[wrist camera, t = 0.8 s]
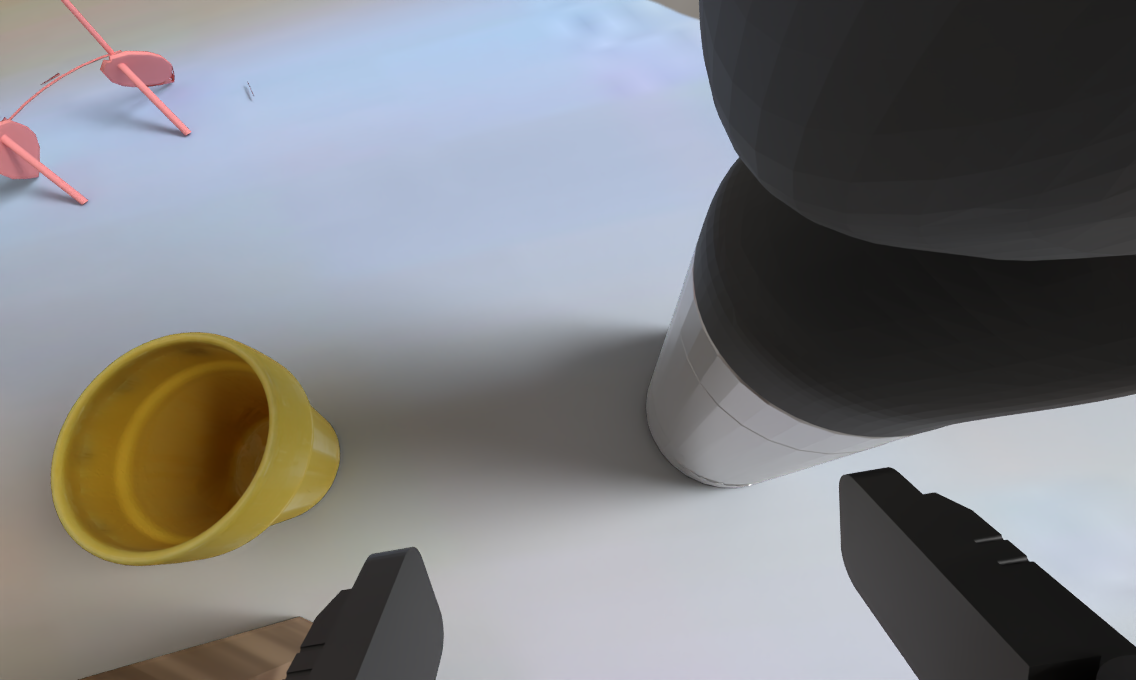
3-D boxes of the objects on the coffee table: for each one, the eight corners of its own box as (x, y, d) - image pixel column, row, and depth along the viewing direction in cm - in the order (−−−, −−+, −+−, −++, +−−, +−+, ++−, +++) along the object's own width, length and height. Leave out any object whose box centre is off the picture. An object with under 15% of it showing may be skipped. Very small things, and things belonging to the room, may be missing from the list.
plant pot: (203, 576, 30) (30, 595, 21) (204, 405, 34) (56, 359, 25) (379, 530, 30) (284, 530, 21) (361, 366, 34) (273, 306, 25)
